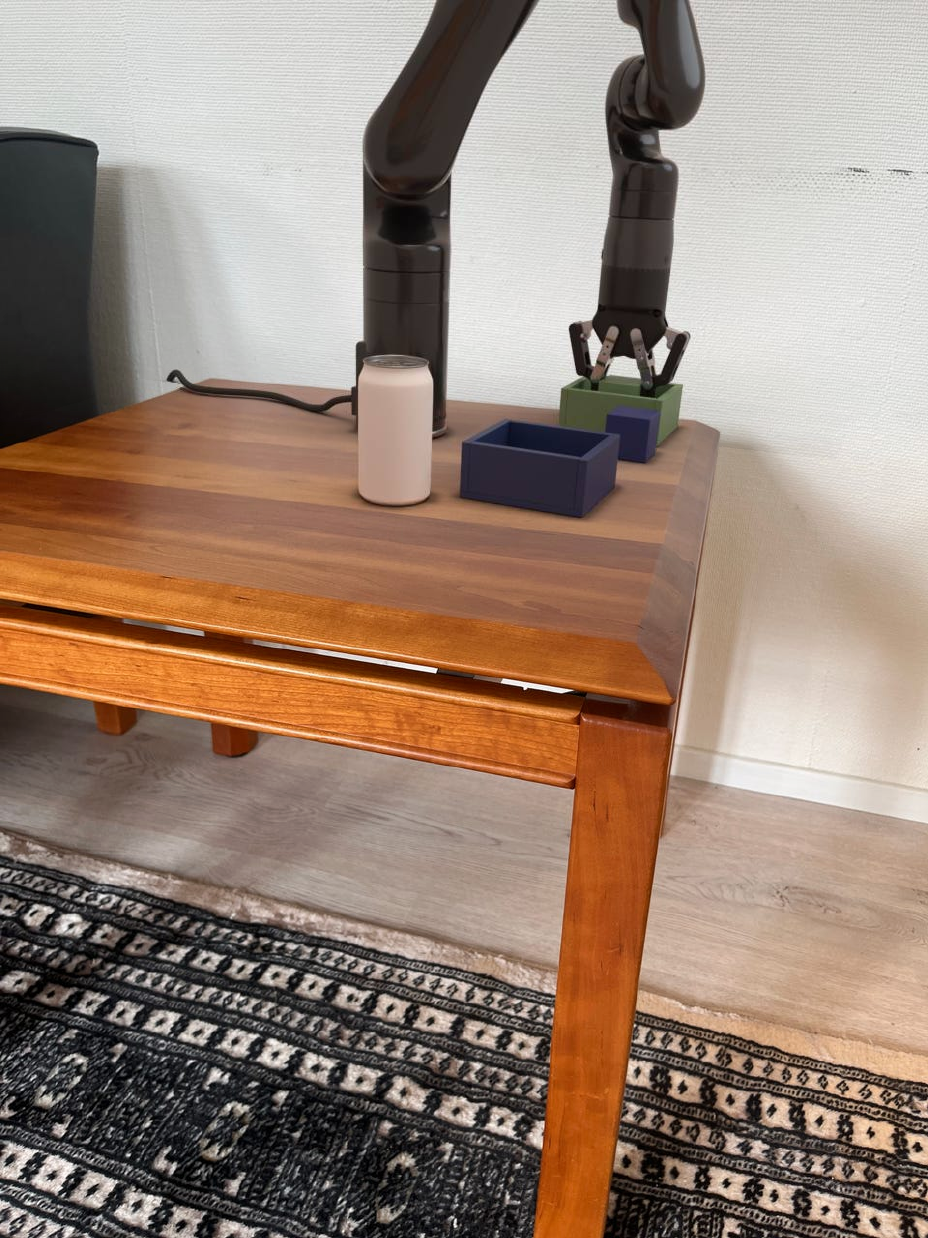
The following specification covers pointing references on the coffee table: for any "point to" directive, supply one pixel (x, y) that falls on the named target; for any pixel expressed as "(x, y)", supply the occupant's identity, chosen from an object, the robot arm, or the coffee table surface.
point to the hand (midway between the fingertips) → (619, 416)
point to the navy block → (634, 432)
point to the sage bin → (593, 406)
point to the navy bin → (539, 466)
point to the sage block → (621, 385)
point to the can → (395, 429)
